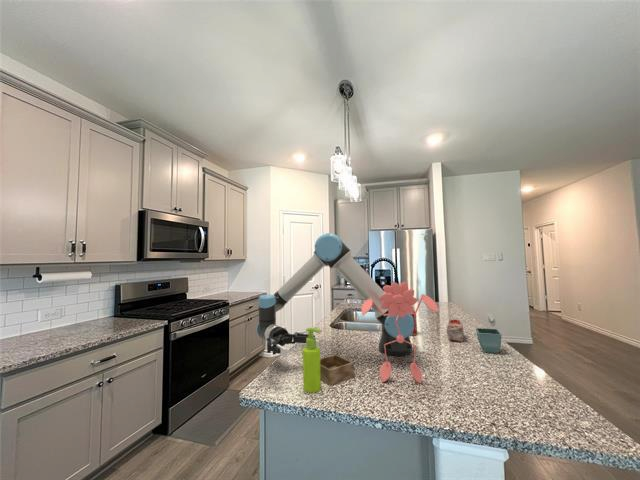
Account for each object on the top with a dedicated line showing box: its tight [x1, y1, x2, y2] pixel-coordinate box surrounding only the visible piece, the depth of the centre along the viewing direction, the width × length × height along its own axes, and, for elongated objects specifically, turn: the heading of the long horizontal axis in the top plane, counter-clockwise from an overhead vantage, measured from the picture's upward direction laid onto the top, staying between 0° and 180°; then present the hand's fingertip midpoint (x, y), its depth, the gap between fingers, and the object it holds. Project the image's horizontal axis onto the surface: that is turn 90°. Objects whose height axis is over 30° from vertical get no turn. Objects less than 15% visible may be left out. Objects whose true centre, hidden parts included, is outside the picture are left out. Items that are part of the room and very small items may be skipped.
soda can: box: [409, 309, 418, 337], centre depth 152 cm, size 7×7×13 cm
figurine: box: [360, 281, 439, 398], centre depth 94 cm, size 15×26×35 cm, turn 79°
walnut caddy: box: [320, 354, 355, 386], centre depth 102 cm, size 11×11×5 cm
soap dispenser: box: [302, 327, 323, 394], centre depth 93 cm, size 6×7×20 cm
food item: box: [446, 318, 465, 343], centre depth 142 cm, size 14×8×10 cm, turn 156°
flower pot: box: [475, 327, 503, 354], centre depth 123 cm, size 9×9×9 cm
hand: (303, 349), depth 97 cm, fingers open, 13 cm apart
